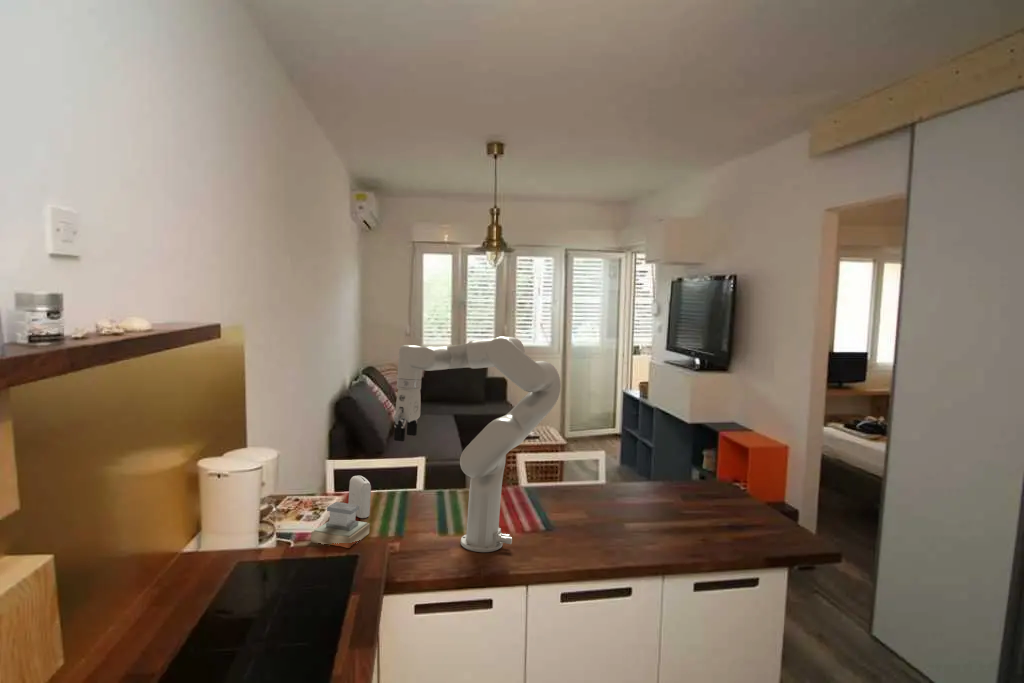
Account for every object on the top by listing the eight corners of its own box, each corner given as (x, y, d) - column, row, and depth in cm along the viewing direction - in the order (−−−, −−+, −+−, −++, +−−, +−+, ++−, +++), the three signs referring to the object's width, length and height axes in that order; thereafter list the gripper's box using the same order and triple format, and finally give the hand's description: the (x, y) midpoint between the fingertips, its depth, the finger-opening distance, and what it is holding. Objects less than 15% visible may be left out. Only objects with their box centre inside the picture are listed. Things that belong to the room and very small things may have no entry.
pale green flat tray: (369, 533, 160) (369, 522, 160) (349, 548, 149) (350, 536, 149) (333, 527, 163) (334, 516, 163) (310, 542, 151) (311, 530, 151)
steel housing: (358, 525, 157) (359, 505, 157) (349, 531, 152) (350, 510, 152) (335, 521, 159) (336, 501, 159) (325, 527, 154) (327, 506, 154)
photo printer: (346, 510, 179) (348, 473, 179) (358, 508, 182) (360, 472, 181) (358, 519, 171) (361, 481, 171) (371, 517, 174) (373, 480, 173)
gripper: (409, 387, 158) (405, 444, 158) (429, 383, 175) (426, 434, 175) (386, 385, 159) (382, 441, 160) (408, 381, 176) (405, 432, 177)
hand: (405, 437), depth 167 cm, fingers open, 9 cm apart
